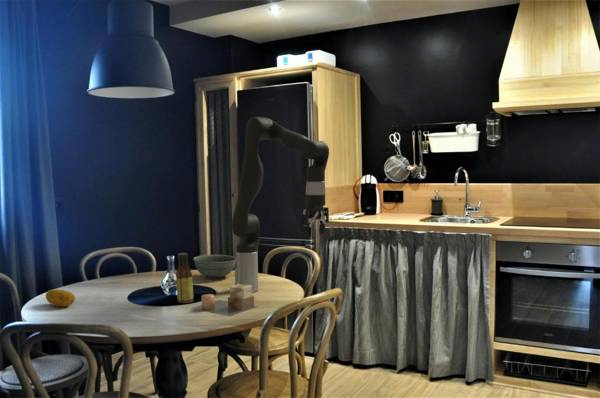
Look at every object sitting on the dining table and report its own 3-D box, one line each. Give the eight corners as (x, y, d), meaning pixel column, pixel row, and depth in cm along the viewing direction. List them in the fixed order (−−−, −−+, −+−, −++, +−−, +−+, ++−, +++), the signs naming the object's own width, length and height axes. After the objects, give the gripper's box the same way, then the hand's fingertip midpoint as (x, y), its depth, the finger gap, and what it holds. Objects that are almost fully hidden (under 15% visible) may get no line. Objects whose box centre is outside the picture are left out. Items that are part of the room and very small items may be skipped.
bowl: (195, 274, 286) (194, 254, 286) (237, 273, 288) (237, 253, 288) (192, 283, 266) (191, 261, 265) (237, 281, 268) (237, 260, 267)
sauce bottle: (196, 301, 230) (195, 252, 229) (188, 305, 224) (187, 255, 223) (182, 300, 232) (180, 252, 231) (173, 304, 226) (172, 254, 225)
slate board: (190, 310, 217) (190, 308, 217) (219, 301, 230) (219, 299, 230) (229, 318, 205) (229, 316, 205) (258, 308, 218) (258, 306, 218)
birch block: (230, 297, 216) (229, 287, 216) (238, 294, 222) (238, 284, 221) (243, 299, 214) (243, 288, 213) (251, 295, 219) (251, 285, 219)
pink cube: (199, 309, 215) (198, 295, 215) (208, 306, 219) (207, 293, 219) (208, 310, 213) (208, 297, 212) (217, 308, 217) (217, 295, 216)
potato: (61, 310, 218) (60, 293, 218) (42, 305, 226) (41, 288, 226) (79, 306, 224) (79, 289, 224) (60, 301, 233) (59, 285, 232)
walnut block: (228, 307, 217) (227, 297, 217) (240, 303, 223) (240, 293, 222) (242, 310, 213) (241, 299, 213) (254, 306, 219) (254, 295, 218)
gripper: (319, 191, 227) (318, 232, 228) (296, 193, 216) (296, 236, 217) (334, 192, 222) (334, 234, 224) (311, 194, 211) (311, 238, 213)
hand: (315, 235), depth 220 cm, fingers open, 8 cm apart
